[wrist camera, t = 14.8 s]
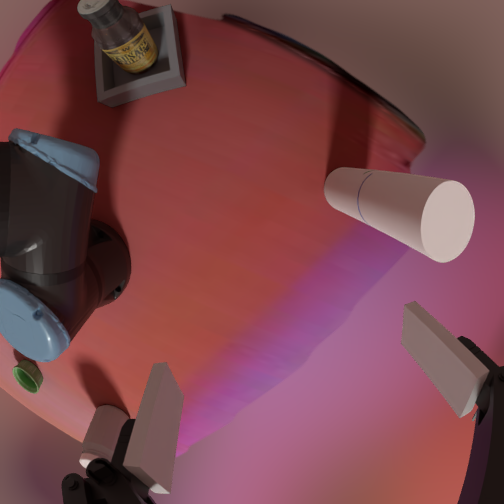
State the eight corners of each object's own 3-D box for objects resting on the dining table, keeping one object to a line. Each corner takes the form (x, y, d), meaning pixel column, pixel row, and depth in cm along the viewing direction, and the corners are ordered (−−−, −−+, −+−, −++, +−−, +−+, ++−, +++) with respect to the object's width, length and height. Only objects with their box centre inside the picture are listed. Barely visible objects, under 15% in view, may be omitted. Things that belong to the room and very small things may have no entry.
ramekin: (28, 381, 52) (22, 390, 48) (15, 355, 49) (7, 364, 45) (50, 386, 52) (43, 396, 48) (36, 359, 50) (28, 369, 45)
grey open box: (112, 107, 36) (97, 101, 31) (106, 41, 32) (94, 30, 26) (186, 85, 36) (180, 75, 31) (176, 19, 32) (170, 4, 27)
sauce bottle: (128, 83, 34) (65, 38, 15) (119, 54, 32) (59, 3, 13) (167, 64, 34) (125, 3, 15) (156, 36, 32) (114, -30, 13)
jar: (133, 411, 55) (117, 469, 38) (130, 430, 58) (116, 483, 41) (97, 397, 53) (74, 451, 36) (97, 417, 56) (78, 467, 39)
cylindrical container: (315, 187, 42) (407, 219, 19) (345, 158, 41) (455, 163, 18) (342, 219, 44) (439, 278, 21) (371, 191, 43) (482, 225, 20)
